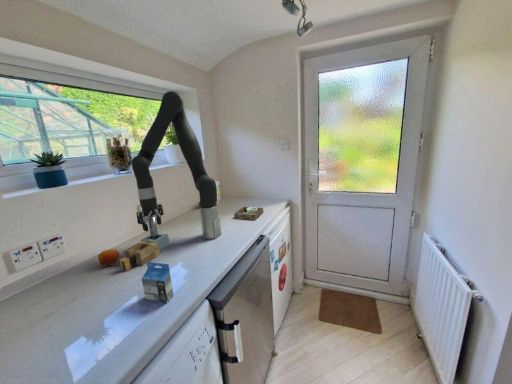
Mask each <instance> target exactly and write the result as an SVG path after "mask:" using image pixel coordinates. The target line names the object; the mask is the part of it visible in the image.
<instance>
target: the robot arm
mask: <svg viewBox="0 0 512 384" xmlns="http://www.w3.org/2000/svg"><path fill="white" fill-rule="evenodd" d="M184 108H185V107H184V100H183V97H182V96H181V94H180V93H178V92H177V91H174V90H168V91H166V92H165V93H163V95H162V98H161V102H160V106H159V109H158V111H157V114H156V117H155V119H154V121H153V123H152V124H151V126H150V127H149V129H148V130H147V132H146V135H145V136H144V139H143V141H142V143H141V144H140V150H139V152H138V154H137V155H136V156H134V157H133V158H132V159H131V167H132V171H133V174H134V177H135V180H136V186H137V194H138V200H139V201H138V202H139V204H140V205H139V206H140V208H141V211H137V212H136V214H135V215H136V219H137V224H138V225H142V230H143V231H144V232H148V231H149V224H148V220H149V218H150V217H152V216H155V218H156V224H157V226H159V225H162V217H163V215H165V213H164V209H163V205H162V203H158V200H157V194H156V189H155V186H154V180H153V177H152V175H151V173H150V172H151V171H150V166H151V164H152V163H153V160H154V158H155V155H156V153H157V152H158V150H159V148H160V146H161V144H162V142H163V139H164V137H165V135H166V133H167V130H168V128H169V126H170V125H171V123H172V126H173V129H174V133H175V137H176V139H177V142H178V146H179V149H180V151H181V153H182V155H183V157H184V159H185V162H186V164H187V166H188V167H189V168H188V169H189V170H190V172H191V176H192V179H193V182H194V187H195V189H196V190H197V191H198V193H199V202H198V207H199V215H200V222H201V232H202V238H204V239H206V240H212V239H215V240H216V239H217V238H218V237H219V236H221V235H222V226H221V218H219V214H218V213H219V212H218V206H217V205H218V204H217V188H216V183H215V180H214V178H212V177H210V176H209V175H208V172H207V171H206V168H205V165H204V160H203V153H202V148H201V145H200V143H199V140H198V137H197V136H196V134H195V131H194V130H193V128H192V125H191V124H190V123H189V121H188V118H187V115H186V111H185V109H184Z"/></svg>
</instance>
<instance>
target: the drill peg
mask: <svg viewBox="0 0 512 384" xmlns="http://www.w3.org/2000/svg"><path fill="white" fill-rule="evenodd" d="M156 218H157V217H156V216H155V215H154V216H152V217H150V218H149V220H148V221H147V225H148V231H149V235H151V239H152V240H155V239H157V238H159V235H158V233H159V232H158V231H159V230H158V224H157V220H156Z"/></svg>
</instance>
